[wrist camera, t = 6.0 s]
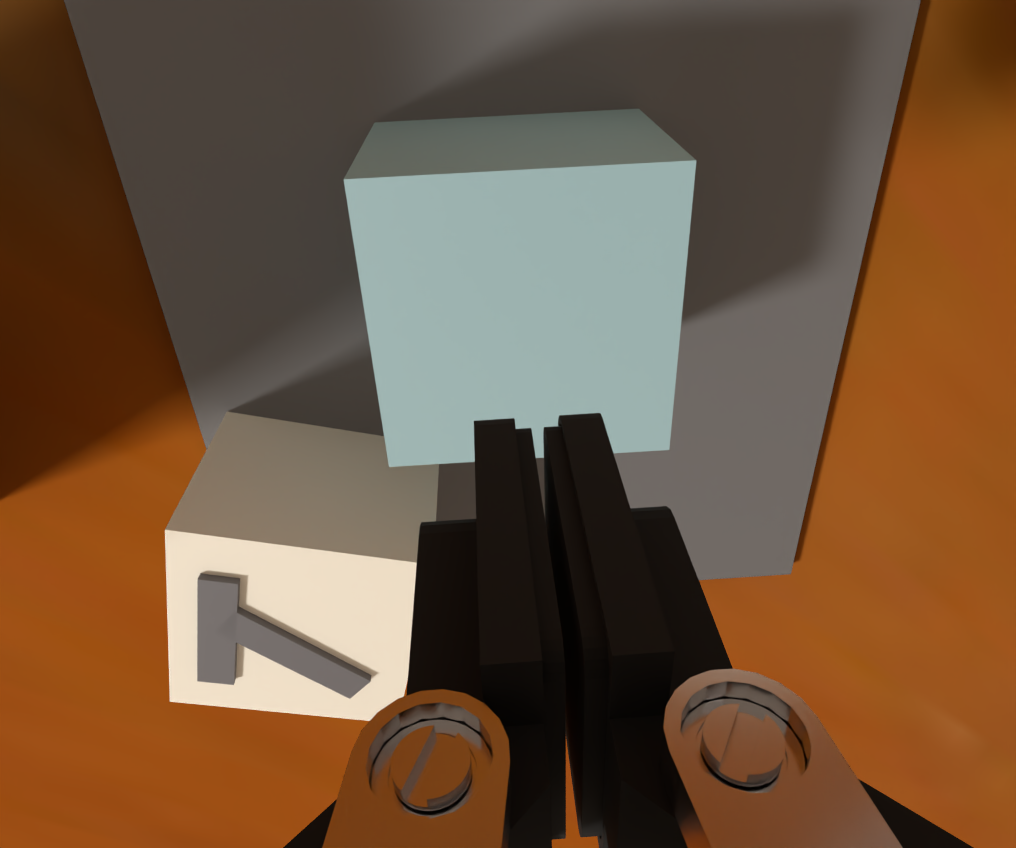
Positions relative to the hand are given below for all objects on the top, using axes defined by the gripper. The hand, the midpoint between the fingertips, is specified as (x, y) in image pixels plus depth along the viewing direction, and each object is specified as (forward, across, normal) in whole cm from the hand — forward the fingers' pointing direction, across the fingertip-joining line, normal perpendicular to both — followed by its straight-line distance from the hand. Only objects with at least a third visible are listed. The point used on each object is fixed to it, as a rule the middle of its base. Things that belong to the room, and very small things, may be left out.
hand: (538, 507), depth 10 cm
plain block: (+10, 0, 0) cm, 10 cm away
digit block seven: (+10, +6, +8) cm, 14 cm away
